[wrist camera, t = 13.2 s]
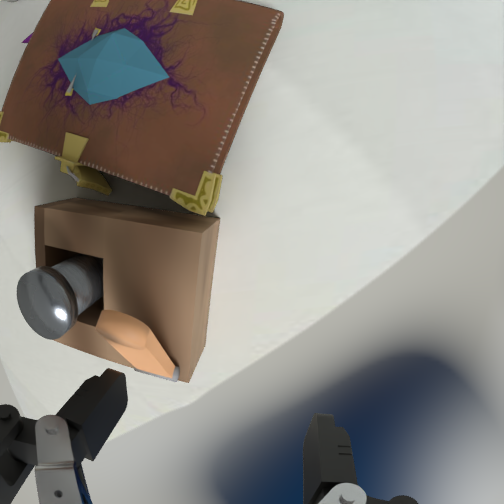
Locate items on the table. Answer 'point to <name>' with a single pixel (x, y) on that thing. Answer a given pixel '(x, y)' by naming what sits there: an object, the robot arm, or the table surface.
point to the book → (140, 90)
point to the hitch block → (136, 271)
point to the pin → (60, 294)
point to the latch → (136, 344)
